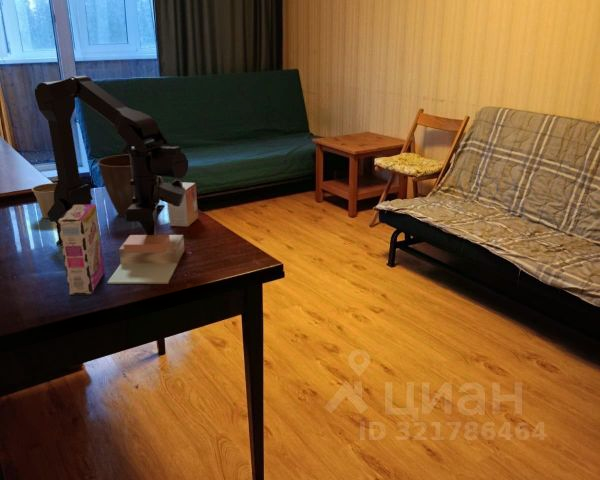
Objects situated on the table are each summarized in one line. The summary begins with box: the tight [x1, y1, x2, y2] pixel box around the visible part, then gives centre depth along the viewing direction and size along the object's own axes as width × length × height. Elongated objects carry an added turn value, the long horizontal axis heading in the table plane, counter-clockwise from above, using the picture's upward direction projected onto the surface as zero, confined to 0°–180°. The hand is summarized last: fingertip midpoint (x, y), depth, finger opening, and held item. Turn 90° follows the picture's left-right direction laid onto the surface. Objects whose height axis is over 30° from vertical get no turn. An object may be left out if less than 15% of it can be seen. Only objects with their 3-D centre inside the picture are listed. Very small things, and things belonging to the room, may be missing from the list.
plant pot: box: [97, 154, 139, 218], centre depth 163 cm, size 15×15×16 cm
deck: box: [118, 234, 185, 265], centre depth 134 cm, size 13×9×4 cm
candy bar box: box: [58, 203, 105, 296], centre depth 118 cm, size 11×5×16 cm, turn 5°
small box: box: [167, 181, 199, 227], centre depth 156 cm, size 8×6×10 cm
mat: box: [106, 263, 178, 285], centre depth 125 cm, size 13×10×1 cm
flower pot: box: [31, 182, 57, 219], centre depth 162 cm, size 9×9×9 cm
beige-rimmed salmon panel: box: [123, 234, 170, 253], centre depth 129 cm, size 9×6×2 cm, turn 90°
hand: (152, 237), depth 133 cm, fingers closed
